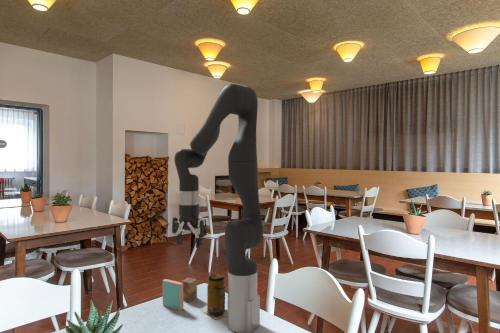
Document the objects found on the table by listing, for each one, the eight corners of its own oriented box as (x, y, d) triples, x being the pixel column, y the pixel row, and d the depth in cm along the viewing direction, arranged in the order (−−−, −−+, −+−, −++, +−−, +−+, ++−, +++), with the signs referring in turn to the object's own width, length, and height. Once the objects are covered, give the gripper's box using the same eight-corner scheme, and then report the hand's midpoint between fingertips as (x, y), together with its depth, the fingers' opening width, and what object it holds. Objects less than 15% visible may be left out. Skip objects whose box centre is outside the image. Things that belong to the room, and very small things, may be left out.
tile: (183, 308, 113) (183, 282, 112) (180, 310, 111) (180, 284, 111) (165, 303, 116) (165, 278, 116) (162, 305, 115) (162, 280, 115)
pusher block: (196, 297, 121) (196, 279, 121) (190, 302, 118) (190, 282, 118) (188, 295, 123) (188, 277, 123) (181, 299, 120) (181, 281, 119)
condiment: (219, 304, 116) (219, 271, 115) (233, 313, 109) (233, 278, 109) (201, 310, 111) (201, 276, 111) (215, 320, 104) (215, 283, 104)
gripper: (210, 202, 120) (210, 246, 120) (180, 200, 126) (180, 241, 127) (198, 205, 113) (198, 251, 113) (167, 202, 120) (167, 246, 120)
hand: (189, 246), depth 120 cm, fingers open, 8 cm apart
